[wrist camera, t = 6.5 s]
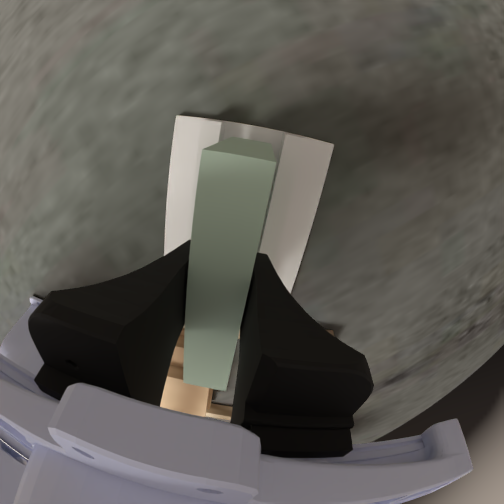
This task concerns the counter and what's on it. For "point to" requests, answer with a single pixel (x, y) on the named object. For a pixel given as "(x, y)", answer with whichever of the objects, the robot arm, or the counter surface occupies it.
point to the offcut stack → (184, 387)
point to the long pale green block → (223, 253)
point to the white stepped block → (281, 194)
